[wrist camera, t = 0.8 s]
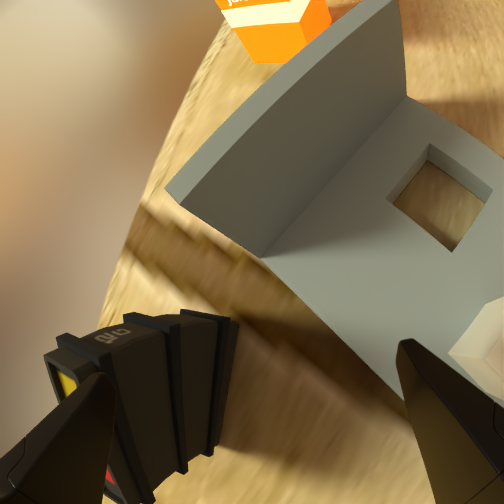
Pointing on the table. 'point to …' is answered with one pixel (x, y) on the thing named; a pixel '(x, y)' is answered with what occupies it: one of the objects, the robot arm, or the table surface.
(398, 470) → the table surface
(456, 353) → the block
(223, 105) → the table surface
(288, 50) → the orange juice
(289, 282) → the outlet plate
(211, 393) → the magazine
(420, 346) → the robot arm
